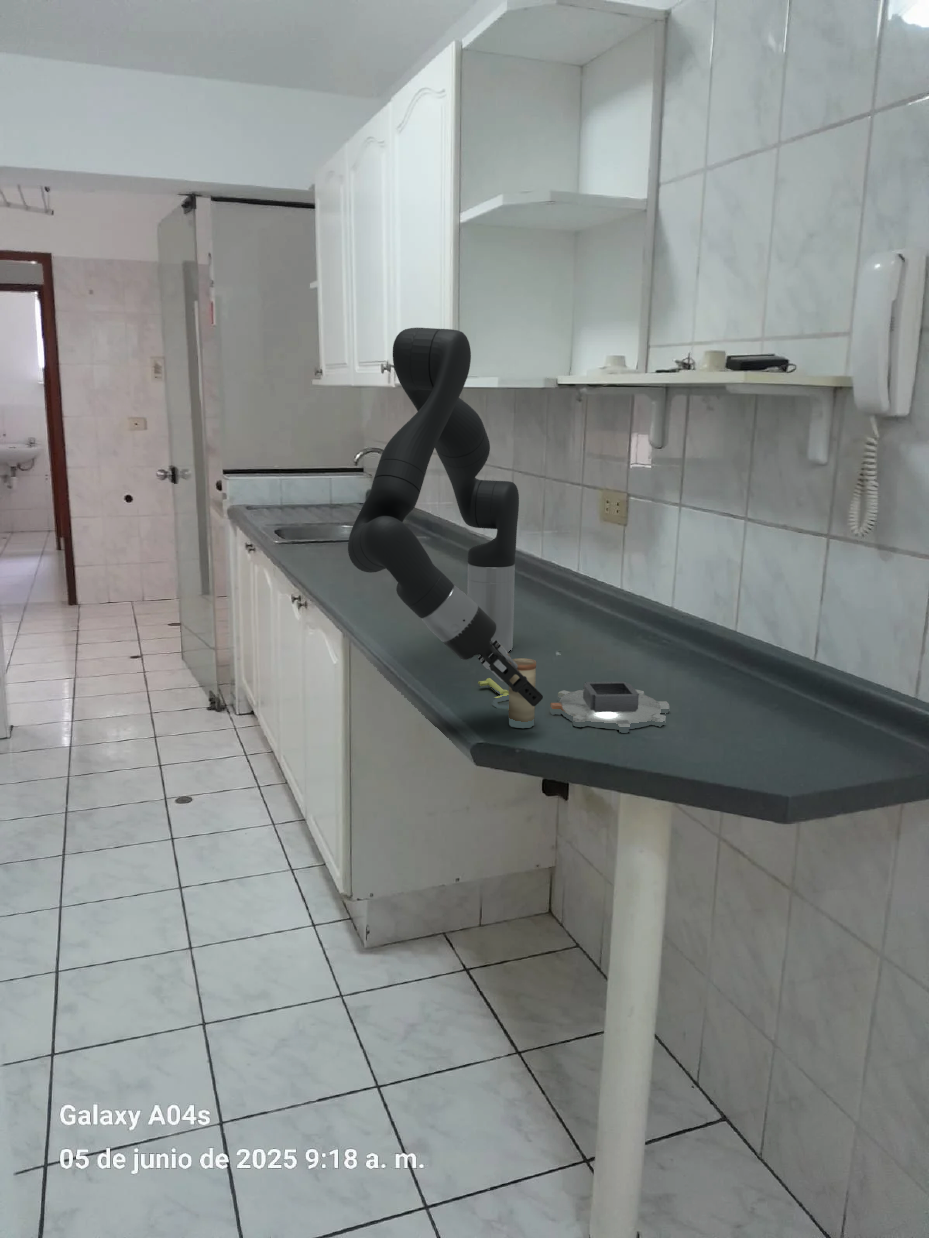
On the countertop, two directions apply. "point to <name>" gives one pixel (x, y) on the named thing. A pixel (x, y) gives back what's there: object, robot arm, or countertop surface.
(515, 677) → the pin
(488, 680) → the key
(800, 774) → the countertop surface
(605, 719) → the sprocket plate
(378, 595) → the countertop surface
